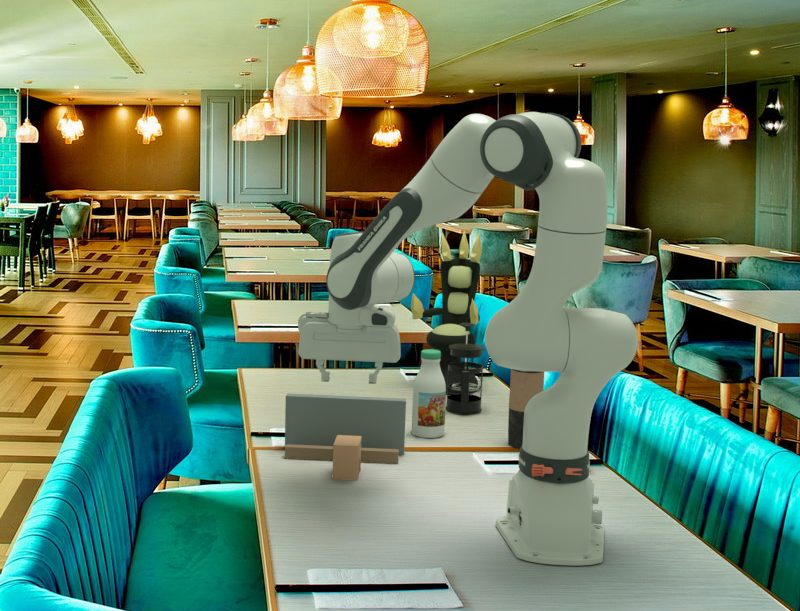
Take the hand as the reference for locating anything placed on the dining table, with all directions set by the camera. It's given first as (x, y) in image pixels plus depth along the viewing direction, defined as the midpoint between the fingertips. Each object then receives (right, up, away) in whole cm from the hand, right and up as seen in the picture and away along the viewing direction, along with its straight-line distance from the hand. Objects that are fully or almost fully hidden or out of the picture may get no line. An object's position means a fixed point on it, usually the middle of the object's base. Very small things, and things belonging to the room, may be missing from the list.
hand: (349, 382), depth 181 cm
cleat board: (-2, -17, +15) cm, 23 cm away
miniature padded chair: (+24, -8, +81) cm, 85 cm away
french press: (+27, -12, +55) cm, 63 cm away
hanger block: (-1, -19, +3) cm, 19 cm away
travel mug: (+38, -17, +27) cm, 50 cm away
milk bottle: (+17, -15, +33) cm, 40 cm away
